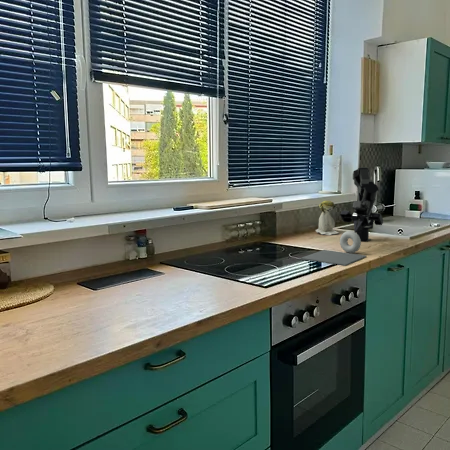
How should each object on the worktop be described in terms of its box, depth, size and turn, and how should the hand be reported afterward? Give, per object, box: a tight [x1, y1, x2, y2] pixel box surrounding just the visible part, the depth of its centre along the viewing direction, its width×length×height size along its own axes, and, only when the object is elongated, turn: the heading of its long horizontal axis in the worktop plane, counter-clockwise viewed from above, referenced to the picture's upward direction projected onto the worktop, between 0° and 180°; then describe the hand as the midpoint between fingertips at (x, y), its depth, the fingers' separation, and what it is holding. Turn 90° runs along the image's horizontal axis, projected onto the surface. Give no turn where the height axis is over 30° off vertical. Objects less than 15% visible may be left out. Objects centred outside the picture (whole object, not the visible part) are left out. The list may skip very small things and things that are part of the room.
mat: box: [300, 249, 367, 267], centre depth 189 cm, size 20×20×1 cm
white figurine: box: [315, 200, 340, 236], centre depth 247 cm, size 12×13×18 cm
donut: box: [339, 230, 362, 254], centre depth 198 cm, size 10×3×10 cm, turn 43°
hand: (355, 232), depth 200 cm, fingers closed
